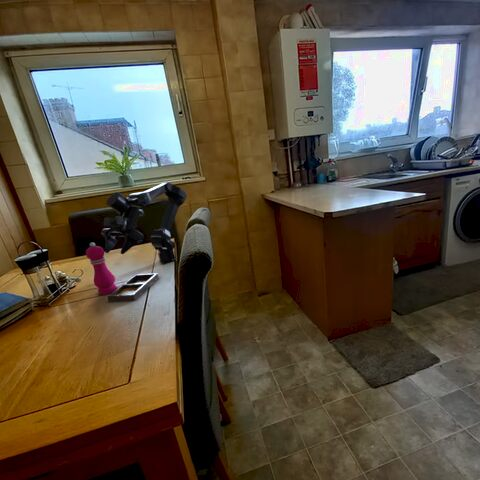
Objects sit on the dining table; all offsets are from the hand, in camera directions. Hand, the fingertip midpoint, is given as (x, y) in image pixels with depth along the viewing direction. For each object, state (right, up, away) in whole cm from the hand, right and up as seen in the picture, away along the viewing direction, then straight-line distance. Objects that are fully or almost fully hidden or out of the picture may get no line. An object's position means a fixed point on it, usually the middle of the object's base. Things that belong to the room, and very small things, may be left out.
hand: (113, 253), depth 110 cm
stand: (+10, -14, -2) cm, 17 cm away
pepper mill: (-2, -15, -1) cm, 15 cm away
